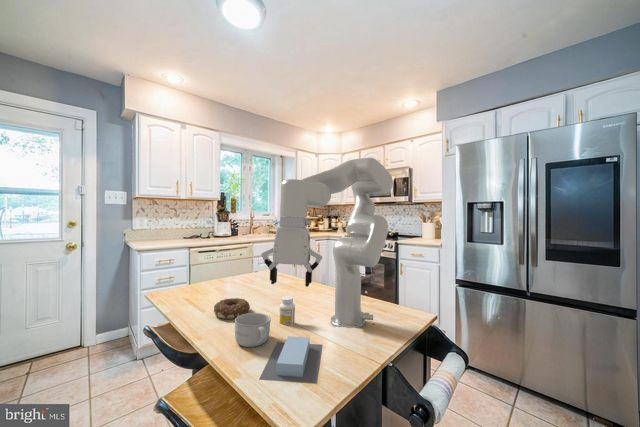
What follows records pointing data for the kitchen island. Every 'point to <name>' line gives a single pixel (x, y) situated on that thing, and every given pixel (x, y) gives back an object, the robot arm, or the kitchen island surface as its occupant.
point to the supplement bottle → (287, 311)
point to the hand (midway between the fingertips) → (290, 284)
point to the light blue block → (293, 357)
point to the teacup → (252, 329)
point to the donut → (231, 308)
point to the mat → (309, 370)
